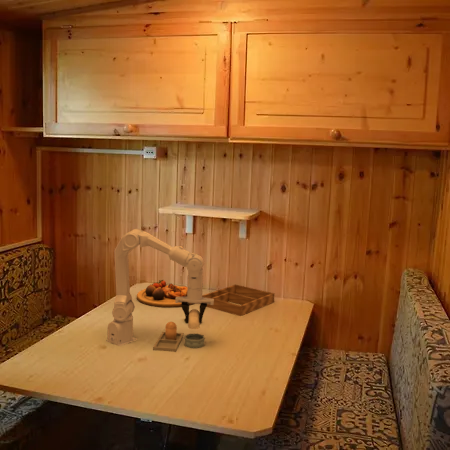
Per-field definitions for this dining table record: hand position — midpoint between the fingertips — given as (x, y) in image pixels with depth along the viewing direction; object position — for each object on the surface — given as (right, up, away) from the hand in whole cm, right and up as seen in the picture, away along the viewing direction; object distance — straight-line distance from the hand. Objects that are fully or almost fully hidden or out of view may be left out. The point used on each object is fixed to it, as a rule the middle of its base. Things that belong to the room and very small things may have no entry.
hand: (194, 321), depth 200 cm
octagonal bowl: (0, -10, +2) cm, 10 cm away
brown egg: (-10, -8, +6) cm, 14 cm away
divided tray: (-10, -9, +3) cm, 14 cm away
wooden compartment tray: (+18, -2, +57) cm, 60 cm away
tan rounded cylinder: (0, -2, 0) cm, 2 cm away
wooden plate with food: (-16, 0, +62) cm, 65 cm away
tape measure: (-3, -6, +27) cm, 28 cm away
